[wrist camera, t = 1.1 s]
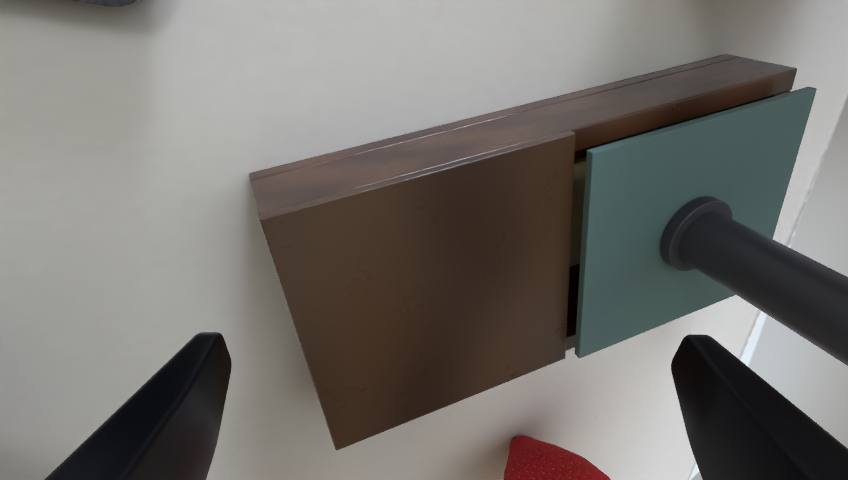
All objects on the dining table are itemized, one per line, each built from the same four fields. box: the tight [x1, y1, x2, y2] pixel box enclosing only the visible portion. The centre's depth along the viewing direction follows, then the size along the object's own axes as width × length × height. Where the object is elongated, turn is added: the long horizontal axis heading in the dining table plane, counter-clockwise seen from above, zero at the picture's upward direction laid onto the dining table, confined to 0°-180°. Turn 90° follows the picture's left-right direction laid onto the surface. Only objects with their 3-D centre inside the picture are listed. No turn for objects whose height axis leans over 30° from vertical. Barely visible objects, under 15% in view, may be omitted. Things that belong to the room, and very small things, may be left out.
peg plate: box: [575, 87, 848, 365], centre depth 20 cm, size 12×11×9 cm
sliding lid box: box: [249, 54, 797, 450], centre depth 24 cm, size 24×12×4 cm, turn 98°
